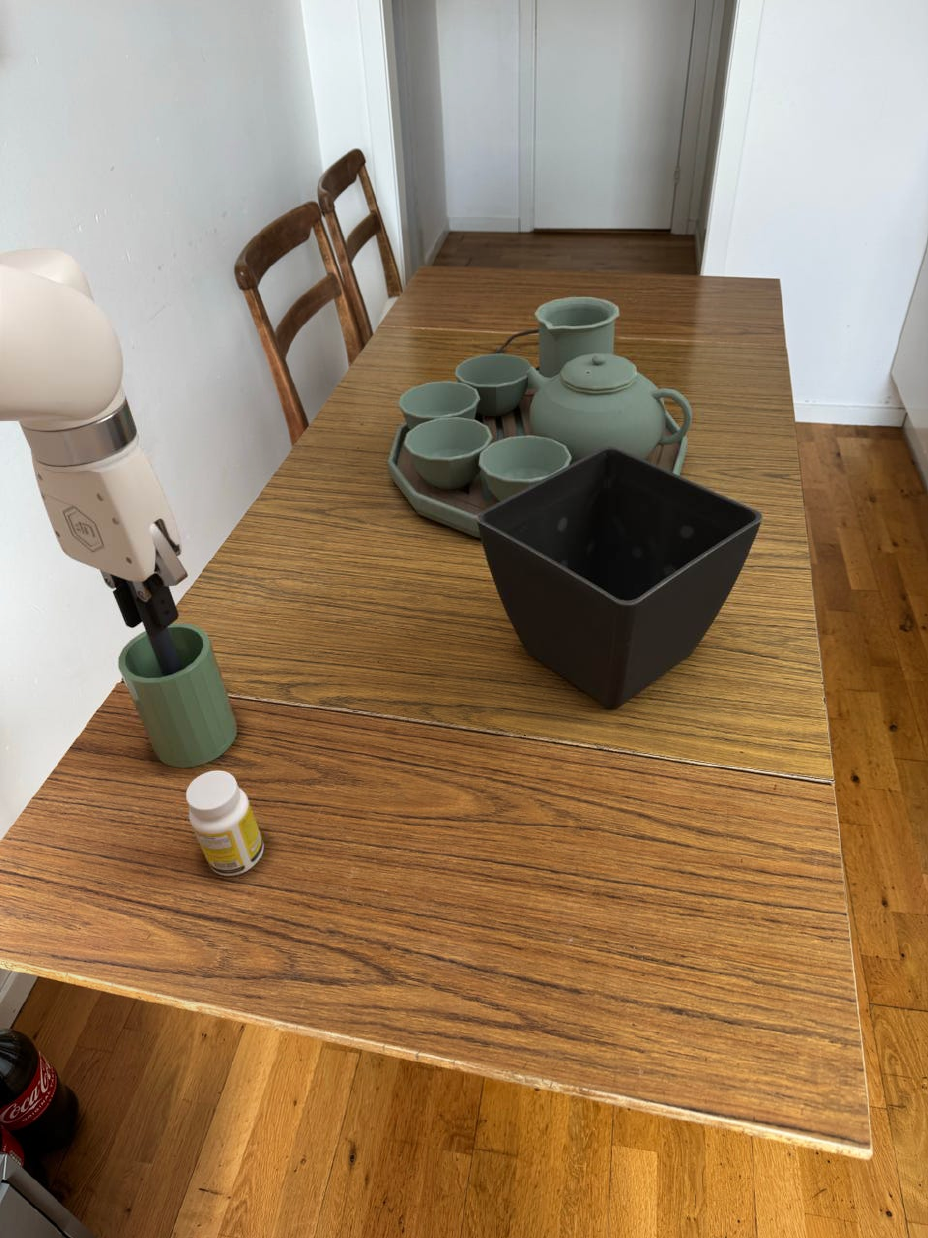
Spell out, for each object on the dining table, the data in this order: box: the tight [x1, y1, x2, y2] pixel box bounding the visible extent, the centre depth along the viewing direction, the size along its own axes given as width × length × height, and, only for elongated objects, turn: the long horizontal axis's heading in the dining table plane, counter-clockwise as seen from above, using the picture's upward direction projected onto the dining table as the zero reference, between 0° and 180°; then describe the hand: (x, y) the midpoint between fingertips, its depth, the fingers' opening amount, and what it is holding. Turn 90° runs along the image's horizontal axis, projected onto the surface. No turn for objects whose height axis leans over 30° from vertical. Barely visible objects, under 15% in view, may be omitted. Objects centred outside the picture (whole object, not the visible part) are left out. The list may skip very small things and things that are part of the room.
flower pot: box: [476, 446, 763, 709], centre depth 86 cm, size 19×19×17 cm
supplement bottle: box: [185, 769, 264, 877], centre depth 73 cm, size 5×5×8 cm
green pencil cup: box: [117, 622, 238, 769], centre depth 83 cm, size 8×8×11 cm
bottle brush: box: [126, 577, 183, 677], centre depth 80 cm, size 4×4×19 cm
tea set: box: [387, 296, 693, 538], centre depth 117 cm, size 40×40×16 cm
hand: (153, 621), depth 77 cm, fingers closed on bottle brush
